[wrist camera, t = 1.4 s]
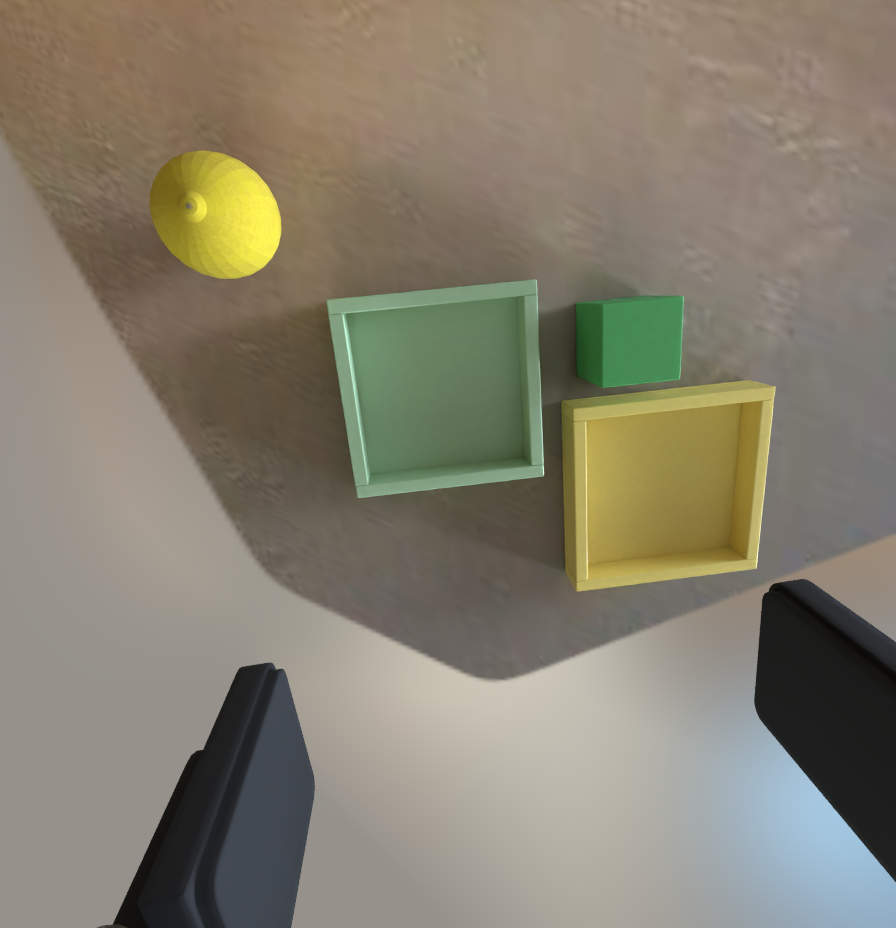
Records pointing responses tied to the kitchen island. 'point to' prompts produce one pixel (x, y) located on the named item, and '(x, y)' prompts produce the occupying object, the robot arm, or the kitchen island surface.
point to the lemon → (215, 214)
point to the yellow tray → (664, 482)
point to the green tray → (440, 386)
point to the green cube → (629, 340)
